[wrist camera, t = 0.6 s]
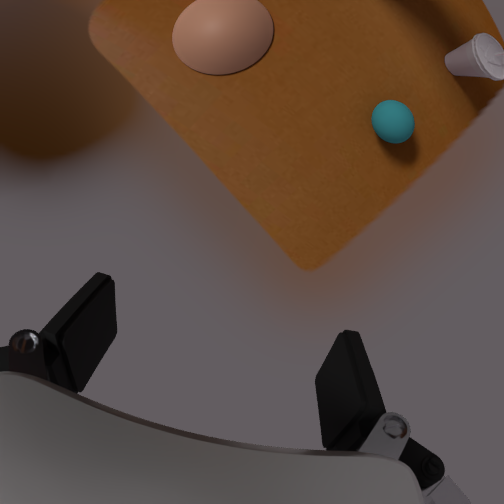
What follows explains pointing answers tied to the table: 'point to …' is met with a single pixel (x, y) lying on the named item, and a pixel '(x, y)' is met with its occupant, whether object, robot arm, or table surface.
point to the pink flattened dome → (222, 35)
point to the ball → (393, 121)
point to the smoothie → (477, 58)
